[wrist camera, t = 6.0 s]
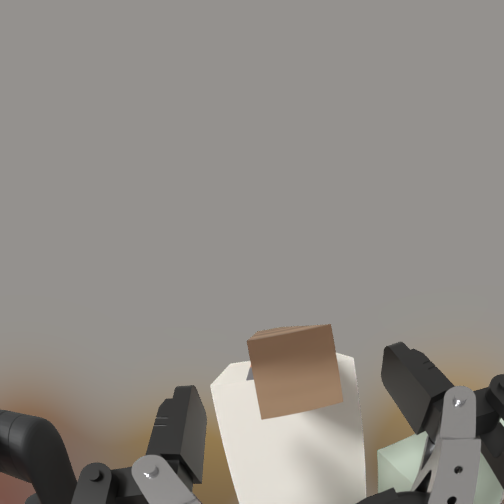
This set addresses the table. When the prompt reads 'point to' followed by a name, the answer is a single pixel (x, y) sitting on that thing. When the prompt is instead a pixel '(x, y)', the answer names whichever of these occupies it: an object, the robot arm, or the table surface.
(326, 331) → the bar
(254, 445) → the stand
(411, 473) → the step
